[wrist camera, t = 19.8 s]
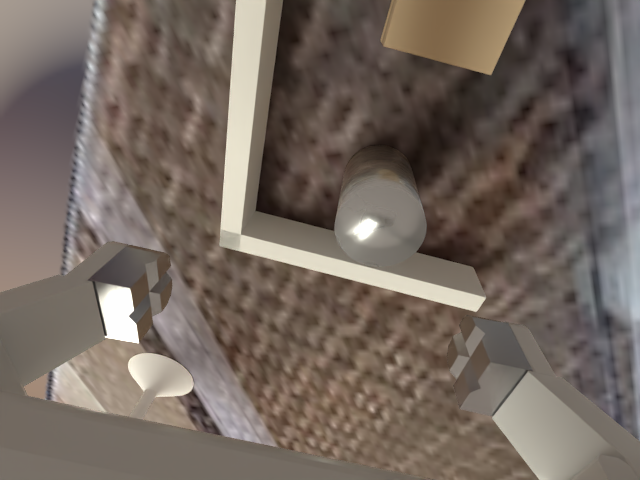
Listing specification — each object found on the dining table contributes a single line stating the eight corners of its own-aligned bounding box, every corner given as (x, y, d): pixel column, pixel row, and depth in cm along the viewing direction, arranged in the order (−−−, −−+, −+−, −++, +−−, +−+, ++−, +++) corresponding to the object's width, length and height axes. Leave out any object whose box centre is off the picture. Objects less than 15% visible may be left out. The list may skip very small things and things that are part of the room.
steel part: (423, 155, 19) (442, 202, 14) (398, 216, 21) (407, 275, 16) (354, 136, 19) (347, 177, 14) (336, 199, 21) (325, 254, 16)
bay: (716, -136, 12) (806, -178, 10) (465, 280, 23) (476, 311, 21) (282, -257, 12) (259, -332, 9) (236, 221, 23) (219, 245, 20)
